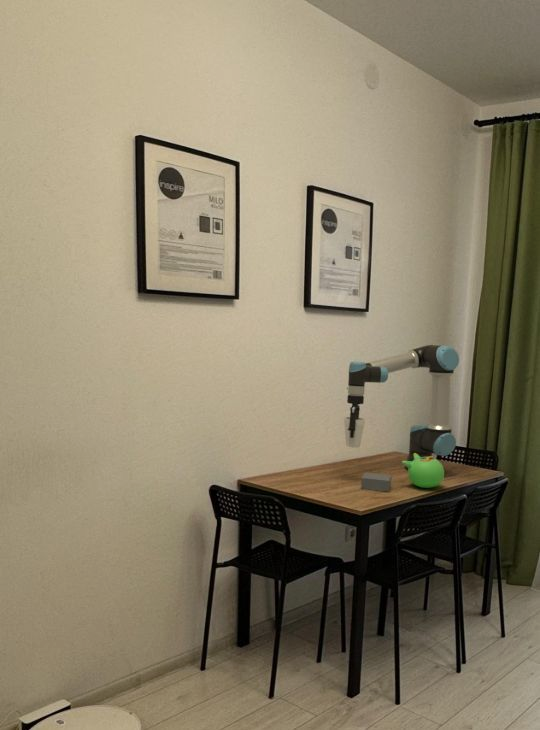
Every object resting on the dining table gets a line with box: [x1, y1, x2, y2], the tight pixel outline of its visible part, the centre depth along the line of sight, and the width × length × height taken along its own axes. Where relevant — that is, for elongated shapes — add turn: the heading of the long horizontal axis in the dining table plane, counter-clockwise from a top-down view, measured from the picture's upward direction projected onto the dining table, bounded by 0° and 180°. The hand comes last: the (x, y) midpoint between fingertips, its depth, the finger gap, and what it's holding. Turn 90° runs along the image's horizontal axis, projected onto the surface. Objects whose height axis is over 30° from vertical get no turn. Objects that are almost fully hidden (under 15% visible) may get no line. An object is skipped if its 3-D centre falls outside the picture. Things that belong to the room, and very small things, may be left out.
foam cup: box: [343, 416, 365, 449], centre depth 290 cm, size 10×9×13 cm
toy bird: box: [401, 453, 445, 489], centre depth 284 cm, size 18×17×15 cm
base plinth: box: [360, 472, 392, 493], centre depth 279 cm, size 12×12×5 cm
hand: (353, 442), depth 290 cm, fingers closed on foam cup, 9 cm apart
